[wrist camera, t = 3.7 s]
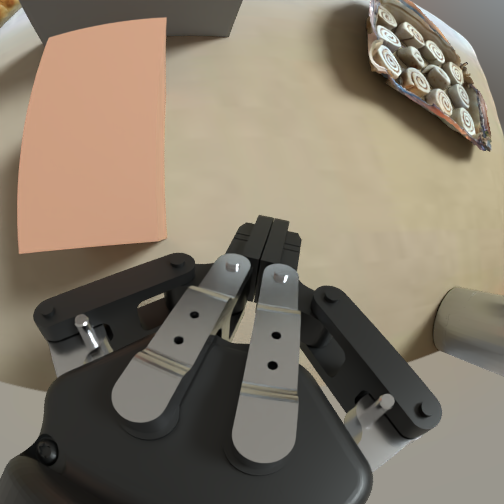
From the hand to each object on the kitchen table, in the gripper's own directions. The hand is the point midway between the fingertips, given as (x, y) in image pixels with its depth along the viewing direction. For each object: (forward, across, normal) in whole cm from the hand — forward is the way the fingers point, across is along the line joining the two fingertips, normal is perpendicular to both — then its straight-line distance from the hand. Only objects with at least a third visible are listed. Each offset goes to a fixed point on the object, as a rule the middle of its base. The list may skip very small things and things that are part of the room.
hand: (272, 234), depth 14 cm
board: (+12, -16, +13) cm, 24 cm away
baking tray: (+30, +16, +14) cm, 37 cm away
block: (+5, -13, 0) cm, 14 cm away
